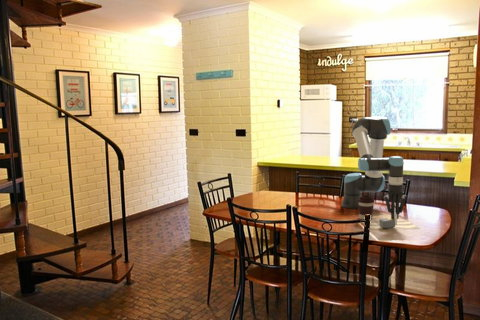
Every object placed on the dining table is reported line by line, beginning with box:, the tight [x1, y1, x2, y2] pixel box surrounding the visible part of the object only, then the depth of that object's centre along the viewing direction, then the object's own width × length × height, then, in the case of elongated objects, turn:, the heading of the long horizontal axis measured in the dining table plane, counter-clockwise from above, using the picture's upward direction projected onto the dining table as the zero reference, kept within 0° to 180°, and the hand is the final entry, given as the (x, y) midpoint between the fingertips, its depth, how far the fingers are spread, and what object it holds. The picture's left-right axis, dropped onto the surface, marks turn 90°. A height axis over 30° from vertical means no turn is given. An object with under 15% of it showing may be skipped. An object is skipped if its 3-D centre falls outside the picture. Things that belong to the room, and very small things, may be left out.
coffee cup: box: [358, 195, 375, 220], centre depth 247 cm, size 10×10×15 cm
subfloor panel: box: [360, 219, 420, 231], centre depth 234 cm, size 18×28×2 cm, turn 91°
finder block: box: [378, 217, 395, 229], centre depth 227 cm, size 5×7×5 cm
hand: (394, 224), depth 227 cm, fingers closed
